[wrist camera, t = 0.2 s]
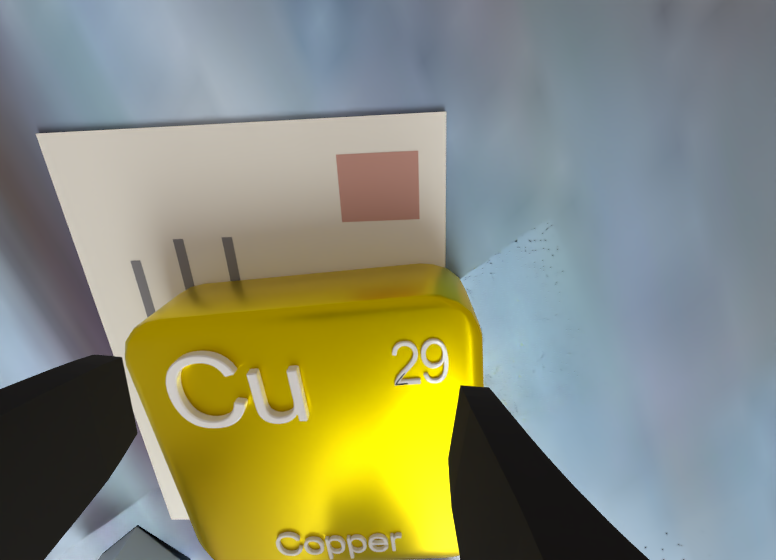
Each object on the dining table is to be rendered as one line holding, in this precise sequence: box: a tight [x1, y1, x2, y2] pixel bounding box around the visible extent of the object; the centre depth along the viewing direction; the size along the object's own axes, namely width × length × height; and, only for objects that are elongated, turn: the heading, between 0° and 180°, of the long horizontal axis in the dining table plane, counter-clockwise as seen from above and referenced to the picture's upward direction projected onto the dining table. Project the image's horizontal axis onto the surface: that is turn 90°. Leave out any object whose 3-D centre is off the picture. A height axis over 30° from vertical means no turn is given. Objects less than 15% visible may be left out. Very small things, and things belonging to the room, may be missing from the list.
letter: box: [36, 112, 446, 520], centre depth 21 cm, size 24×18×1 cm
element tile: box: [125, 263, 484, 560], centre depth 20 cm, size 15×15×5 cm
